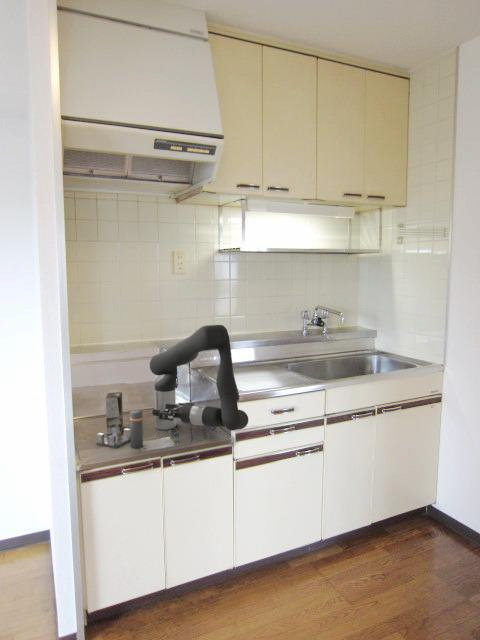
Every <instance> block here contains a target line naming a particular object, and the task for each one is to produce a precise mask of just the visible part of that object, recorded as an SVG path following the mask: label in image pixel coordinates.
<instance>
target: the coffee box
mask: <svg viewBox="0 0 480 640" xmlns="http://www.w3.org/2000/svg"><path fill="white" fill-rule="evenodd" d="M123 413H124V411H123V392H122V391H121V392H119V391H118V392H108V393H107V395H106V397H105V417H106V418H105V421H106V422H105V423H106V424H105V425H106V426H105V427H106V429H105V431H106V435H112V427H114V426H117V427H119V435H120V434H122V431H123V429H124V428H123V427H124V419H123V418H124V417H123V416H124V415H123Z"/></svg>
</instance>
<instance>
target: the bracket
mask: <svg viewBox="0 0 480 640" xmlns="http://www.w3.org/2000/svg"><path fill="white" fill-rule="evenodd" d="M129 442H131V439H130V428H123V435H120V434H119V427H117V426H114V427H112V434H109V435H108V436H106V437H105V433H102V432H99V433H96V442H95V443H96V445H99V446H103V447H108V448H111V449H117V448H120V447H121V446H123V445H125V444H127V443H129Z"/></svg>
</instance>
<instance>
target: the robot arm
mask: <svg viewBox="0 0 480 640" xmlns="http://www.w3.org/2000/svg"><path fill="white" fill-rule="evenodd" d="M213 350H214V351H215V350H217V351H218V353H219V366H218V367H219V368H218V371H217V375H216V383H215V384H216V387H217V392H218V395H219V399H220V407H216V406H209V405H204V404H200V403H193V402H192V403H190V402H186V403H184V402H183V403H181V402H178V403H176V385H177V380H178V379H177V375H178V374H177V373H178V372H177V371H178V367H180V366H185V365H187V364H189V363H192V362H193V361H194V360H195V359H196V358H197V357H198V355H199V353H200V352H204V351H213ZM149 369H150V371H151V373H152V374H153V375H156V376H163V377H162V378H161V379H160V380H158V381H155V383H154V409H152V416H154V424H155V425H154V427H155V429H157V430H167V431H168V430H172V429H174V428H176V426H177V424H178V423H177V420H178V419H180V421H181V422H182V423H183V424H187V425H193V426H194V425H195V426H205V427H213V428H217V427H222V428H223V427H224V428H226V429H227V430H228V431H239V430H242V429H245V428H246V427H247V426H248V423H249V416H248V414H247V413H246V412H245V411H244V410H243V409H242V410H241V409H239V405H238V402H239V400H240V394H239V389H238V385H237V382H236V377H235V374H234V368H233V357H232V350H231V341H230V335H229V332H228V330H227V327H225V325H222V324H212V325H211V324H209V325H208V324H207V325H203V326H200V327H199V328H198V329H197V330H195V332H193V333H192V334H191V335H189V336H188V337H186V338H184V339H183V340H181V341H179V342H177V343H176V344H174V345H173V346H171V347H170V348H168V349H166V350H165V351H163V352H160V353H158V354H157V353H156V354H155V355H153V356H152V357H151V359H150V361H149Z"/></svg>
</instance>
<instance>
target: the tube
mask: <svg viewBox="0 0 480 640" xmlns="http://www.w3.org/2000/svg"><path fill="white" fill-rule="evenodd" d="M143 419H144V418H143V411H142V410H131V411H130V412H129V425H130V426H129V429H130V439H131V441H130V448H131V449H140V447H141V448H143V447H144V444H143V443H144V439H143V438H144V437H143V436H144V435H143V434H144V433H143V431H144V430H143V429H144V428H143V421H144V420H143ZM142 446H143V447H142Z"/></svg>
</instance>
